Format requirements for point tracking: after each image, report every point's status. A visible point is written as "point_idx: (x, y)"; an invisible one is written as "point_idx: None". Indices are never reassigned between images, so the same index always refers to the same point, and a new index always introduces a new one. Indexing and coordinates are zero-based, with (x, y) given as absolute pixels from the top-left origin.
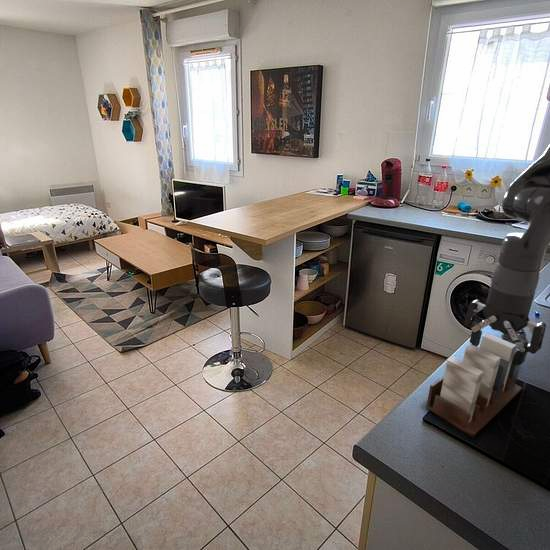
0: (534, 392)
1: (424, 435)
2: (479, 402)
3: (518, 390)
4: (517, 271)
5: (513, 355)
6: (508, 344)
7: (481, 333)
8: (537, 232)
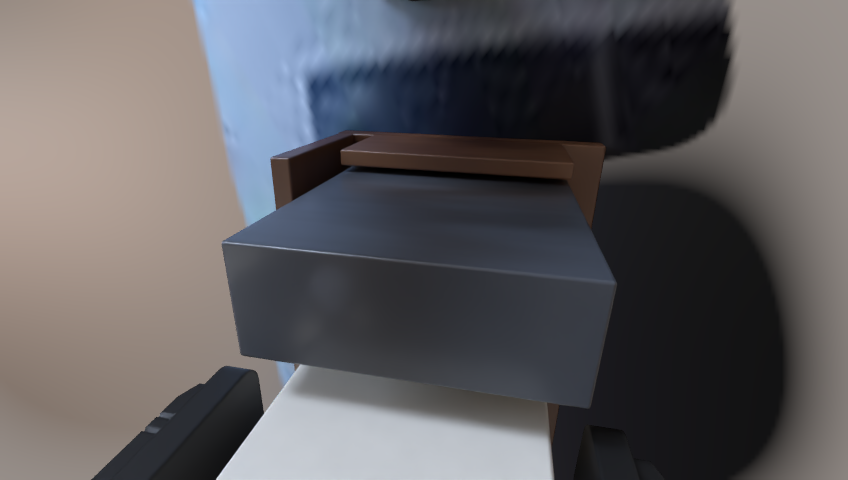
0: (670, 99)
1: None
2: None
3: (594, 193)
4: None
5: (551, 461)
6: None
7: (163, 468)
8: None
